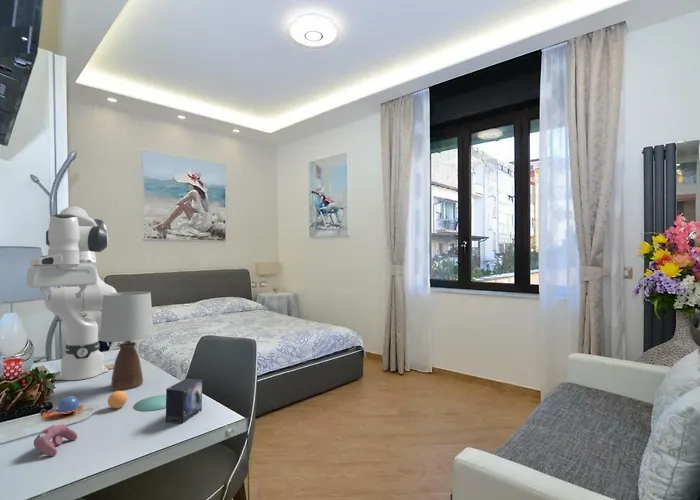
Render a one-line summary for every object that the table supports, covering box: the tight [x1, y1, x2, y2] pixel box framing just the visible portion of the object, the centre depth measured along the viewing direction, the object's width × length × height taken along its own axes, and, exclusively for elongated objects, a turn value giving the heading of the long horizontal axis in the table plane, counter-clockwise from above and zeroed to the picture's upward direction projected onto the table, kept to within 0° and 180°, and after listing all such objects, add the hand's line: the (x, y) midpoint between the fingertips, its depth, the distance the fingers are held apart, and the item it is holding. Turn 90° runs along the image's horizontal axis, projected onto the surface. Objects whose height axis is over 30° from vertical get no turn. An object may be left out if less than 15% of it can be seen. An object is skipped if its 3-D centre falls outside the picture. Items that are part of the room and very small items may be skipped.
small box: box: [165, 378, 203, 424], centre depth 120 cm, size 11×6×10 cm, turn 168°
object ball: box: [107, 390, 128, 409], centre depth 127 cm, size 6×6×6 cm
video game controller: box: [33, 422, 78, 457], centre depth 100 cm, size 10×5×7 cm, turn 5°
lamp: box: [99, 290, 154, 391], centre depth 149 cm, size 19×19×37 cm
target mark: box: [133, 394, 166, 412], centre depth 131 cm, size 14×14×1 cm
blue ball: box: [57, 395, 80, 413], centre depth 122 cm, size 6×6×6 cm
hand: (63, 299), depth 130 cm, fingers open, 8 cm apart
